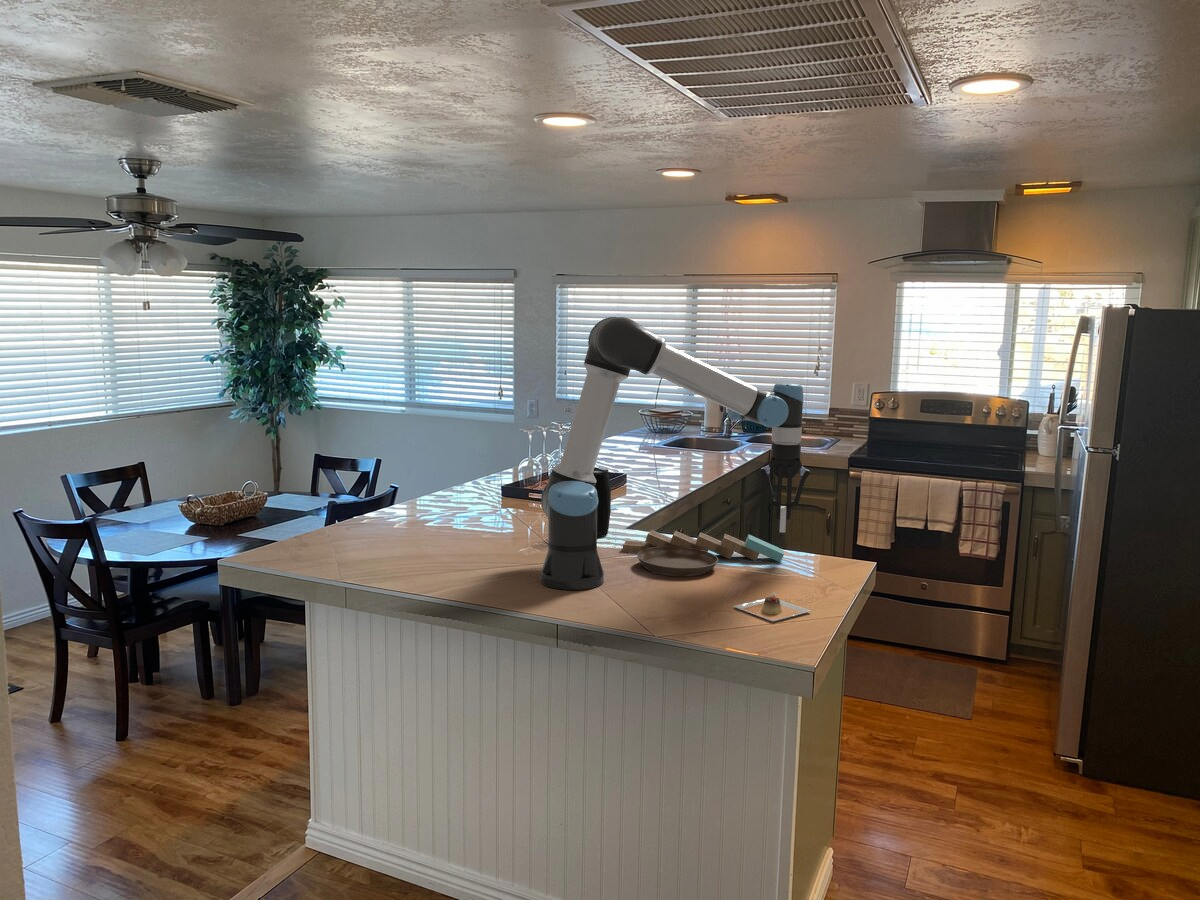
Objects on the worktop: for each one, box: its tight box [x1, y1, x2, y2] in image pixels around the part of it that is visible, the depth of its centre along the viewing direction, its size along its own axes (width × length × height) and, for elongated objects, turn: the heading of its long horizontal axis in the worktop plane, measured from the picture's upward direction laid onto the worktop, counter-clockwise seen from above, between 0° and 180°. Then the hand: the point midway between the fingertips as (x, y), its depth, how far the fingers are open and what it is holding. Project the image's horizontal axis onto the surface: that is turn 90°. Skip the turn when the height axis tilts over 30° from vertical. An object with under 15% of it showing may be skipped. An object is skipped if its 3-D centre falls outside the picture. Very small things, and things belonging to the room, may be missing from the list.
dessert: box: [732, 591, 812, 623], centre depth 193 cm, size 12×12×5 cm
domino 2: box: [644, 529, 678, 547], centre depth 241 cm, size 5×2×10 cm
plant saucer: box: [636, 547, 719, 577], centre depth 226 cm, size 21×21×3 cm
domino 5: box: [720, 533, 760, 562], centre depth 236 cm, size 5×2×10 cm
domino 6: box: [744, 534, 785, 563], centre depth 235 cm, size 5×2×10 cm
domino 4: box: [696, 532, 735, 560], centre depth 238 cm, size 5×2×10 cm
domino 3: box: [670, 530, 709, 552], centre depth 239 cm, size 5×2×10 cm
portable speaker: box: [593, 467, 612, 538], centre depth 259 cm, size 9×9×20 cm
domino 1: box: [622, 540, 656, 554], centre depth 243 cm, size 5×2×10 cm
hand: (782, 531), depth 234 cm, fingers closed
